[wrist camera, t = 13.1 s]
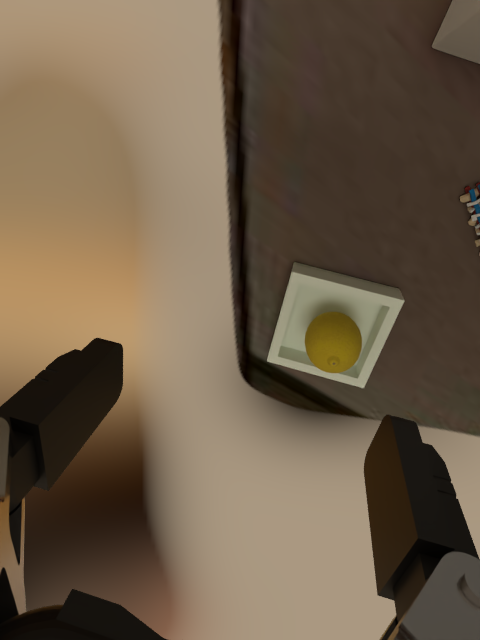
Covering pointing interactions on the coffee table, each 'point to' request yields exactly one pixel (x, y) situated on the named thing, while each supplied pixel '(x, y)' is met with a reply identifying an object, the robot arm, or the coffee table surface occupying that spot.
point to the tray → (333, 296)
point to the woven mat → (473, 207)
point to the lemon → (333, 342)
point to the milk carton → (460, 31)
